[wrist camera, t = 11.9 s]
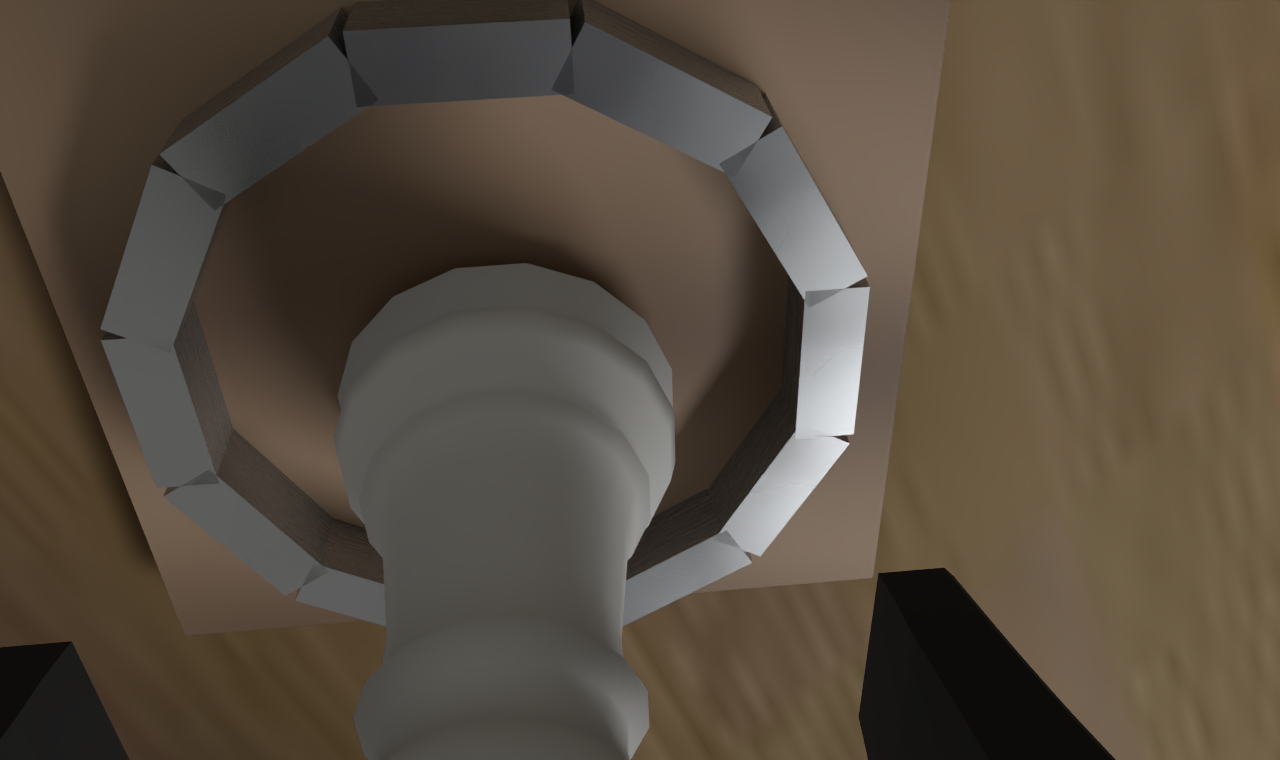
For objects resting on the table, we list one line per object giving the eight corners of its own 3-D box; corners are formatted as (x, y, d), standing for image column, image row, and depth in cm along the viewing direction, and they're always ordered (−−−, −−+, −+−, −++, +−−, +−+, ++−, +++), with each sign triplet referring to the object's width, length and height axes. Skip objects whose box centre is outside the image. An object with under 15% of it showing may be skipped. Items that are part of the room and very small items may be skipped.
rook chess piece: (271, 368, 14) (64, 991, 8) (535, 176, 13) (545, 728, 7) (490, 553, 17) (470, 1157, 10) (732, 406, 15) (885, 983, 9)
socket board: (857, 535, 19) (889, 624, 17) (200, 589, 18) (168, 686, 16) (932, -90, 13) (991, -45, 11) (-34, -40, 12) (-120, 15, 11)
